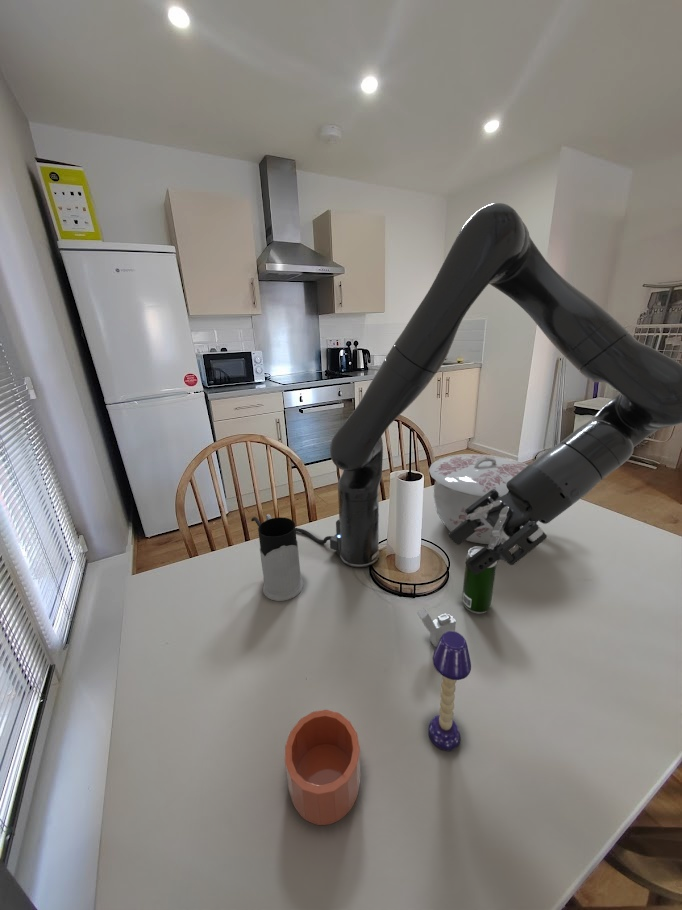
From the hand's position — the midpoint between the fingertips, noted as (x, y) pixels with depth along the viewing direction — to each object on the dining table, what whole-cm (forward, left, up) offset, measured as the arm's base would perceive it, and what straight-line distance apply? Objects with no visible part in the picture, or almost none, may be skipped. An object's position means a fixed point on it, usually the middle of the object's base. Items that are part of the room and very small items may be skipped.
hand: (460, 553), depth 53 cm
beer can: (0, +14, -21) cm, 25 cm away
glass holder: (-38, -3, -21) cm, 44 cm away
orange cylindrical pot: (-6, -26, -21) cm, 34 cm away
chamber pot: (-8, +42, -21) cm, 48 cm away
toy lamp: (+4, -12, -21) cm, 24 cm away
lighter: (-3, +1, -21) cm, 21 cm away
